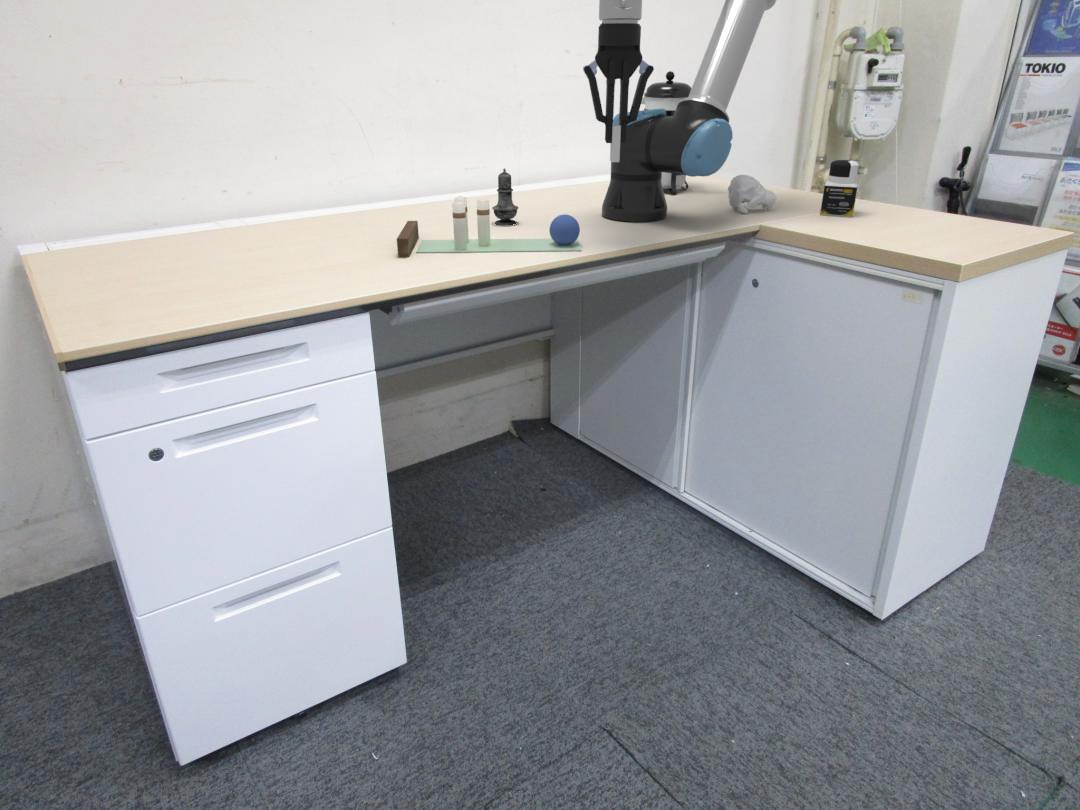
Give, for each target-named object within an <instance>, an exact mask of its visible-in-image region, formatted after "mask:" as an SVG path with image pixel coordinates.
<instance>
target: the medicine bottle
mask: <svg viewBox="0 0 1080 810" xmlns="http://www.w3.org/2000/svg"><path fill="white" fill-rule="evenodd" d="M829 167H830V168H829V174H828V179H826V181H825V183H824V187H823V193H822V200H821V204H820V205H821V206H820V211H819V214H820V216H827V217H841V218H842V217H843V218H853V216H854V209H855V206H856V198H857V193H858V188H859V187H858V186H859V182H858V181H857V176H858V171H859V167H860V164H859V162H857V161H855V160H849V159H848V160H847V159H836V160H833V161H832V162H830V166H829Z"/></svg>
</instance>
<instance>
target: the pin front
mask: <svg viewBox="0 0 1080 810" xmlns="http://www.w3.org/2000/svg"><path fill="white" fill-rule="evenodd" d="M490 211H491V209H490V200H489V199H487V198H480V199H476V216H477V217H476V219H477V222H476V223H477V239H478V245H479V246H483V247H485V246H490V239H491V221H490V219H491V217H490V215H491V214H490V213H491V212H490Z"/></svg>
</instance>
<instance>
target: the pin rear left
mask: <svg viewBox="0 0 1080 810" xmlns="http://www.w3.org/2000/svg"><path fill="white" fill-rule="evenodd" d="M451 205H452V206H451V207H452V220H453V221H452V223H453V238H454V239H453V240H454V243H455V249H456V250H466V249H467V237H466V212H465V202H455V201H453V202H452V204H451Z"/></svg>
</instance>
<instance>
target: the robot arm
mask: <svg viewBox="0 0 1080 810" xmlns="http://www.w3.org/2000/svg"><path fill="white" fill-rule="evenodd" d="M598 2H599V3H598V4H599V5H598V20H599V21H601V24H599V26H598V35H597V36H598V37H597V38H598V40H597V41H598V42H597V51H596V54H595V56H594V60H593V61H591V62H590V63H589V64H587V65H584V66H583V67H582V69H583V73H584V74H585V76H586V78H587V79H588V84H589V89H590V94H591V98H592V104H593V105H592V106H593V109H594V113H595V114H594V115H595V119H596V120H597V122H599V123H602V124H604V125H605V127H604V128H605V131H604V141H605V142H606V144H610V149H609V161H610V181H609V185H608V187H607V191H606V194H605V196H604V199H603V203H602V205H601V216H602V217H603V218H605V219H608V220H613V221H618V222H619V221H620V222H633V223H635V222H653V221H659V220H663V219H665V218H667V216H668V203H667V200H666V196H665V192H664V188H663V187H662V183H661V177H662V172H665V173H673V174H681V175H686V177H691V178H692V177H709V176H711V175H714V174H716V173H717V172H719V170H720V169H721V168H722V167H723V166H724V165H725V162H726V161H727V159H728V157H729V155H730V152H731V149H732V144H733V143H732V140H733V129H732V126H731V125H730V116H729V115H728V113H727V110H728V108H729V107H728V106H729V104H730V101H731V99H732V95H733V93H734V90H735V88H736V85H737V83H738V81H739V78H740V76H741V73H742V70H743V67H744V65H745V62H746V61H747V57H748V54H749V52H750V49H751V47H752V45H753V42H754V39H755V37H756V34H757V32H758V29H759V27H760V23H761V22H762V18H763V16H764V14H765V12H766V11H768V10H770V9H772V8H773V7H774V6H775V5H776V2H777V0H725V2H724V4H723V6H722V9H721V11H720V14H719V17H718V19H717V22H716V25H715V28H714V29H713V32H712V34H711V35H712V36H711V37H710V40H709V42H708V44H707V48H706V51H705V53H704V55H703V58H702V60H701V64H700V66H699V68H698V71H697V74H696V76H695V78H694V81H693V84H692V85H691V88H692V89H691V91H690V94H689V96H688V98H686V99H683V100H681V101H680V102H679V103H678V105H677V108H676V110H675V113H674V115H673V116H666V111H665V109H652V110H644V109H643V110H640V108H641V105H642V104H641V102H642V98H643V97H644V93H645V92H646V87H647V82H648V80H649V78H650V77H651V75H652V74H653V72H654V70H655V68H654V66H653V65H650V64H649V63H647V62H646V61H645V60H643V55H642V53H641V39H642V38H641V35H642V34H641V32H642V26H641V25H640V24H639V23H638V22H639V21H640V20H641V19H642V17H643V14H642V13H643V0H599V1H598ZM597 68H599V71H600V72H601V73H602V75H603V76H604V78H605V79H606V81H605V82H606V93H605V95H606V96H605V115H604V112H603V107H602V103H601V102H602V101H601V97H600V90H599V86H598V81H597V78H596V75H597V73H598V69H597ZM638 68H639V69H638ZM637 69H638V72H639V73H638V74H639V75H640V76H639V78H638V80H637V81H638V82H637V84H636V89H635V92H634V96H633V99H632V103H631V106H630V111H628V110H629V89H630V88H629V86H630V78H631V77H632V76H633V75H634V73H635V72H636V71H637ZM618 79H619V83H620V86H619V87H620V88H619V91H620V92H619V110H618V111H619V113H617V114H615V116H614V112H615V111H614V110H615V88H616V87H615V85H616V80H618Z"/></svg>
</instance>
